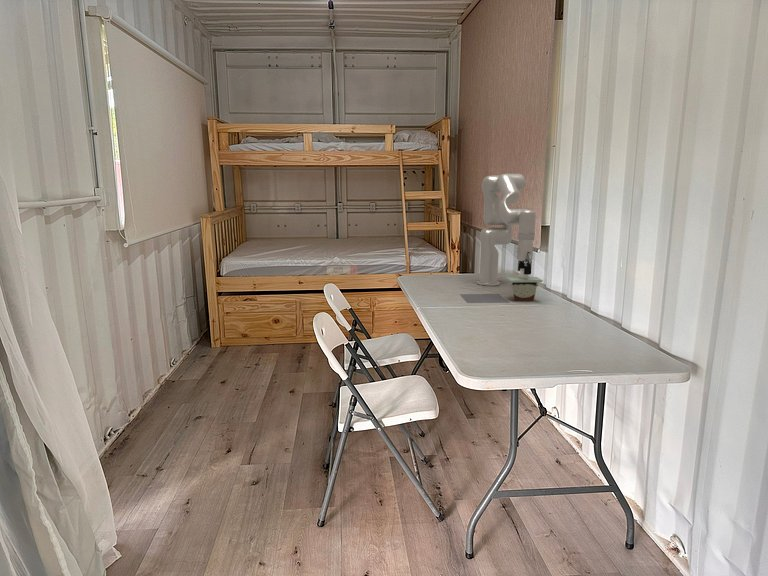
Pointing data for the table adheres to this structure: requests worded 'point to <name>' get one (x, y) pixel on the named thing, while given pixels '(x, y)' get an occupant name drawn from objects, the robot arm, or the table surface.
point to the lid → (523, 278)
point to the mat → (484, 298)
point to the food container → (524, 291)
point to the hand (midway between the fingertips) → (524, 272)
